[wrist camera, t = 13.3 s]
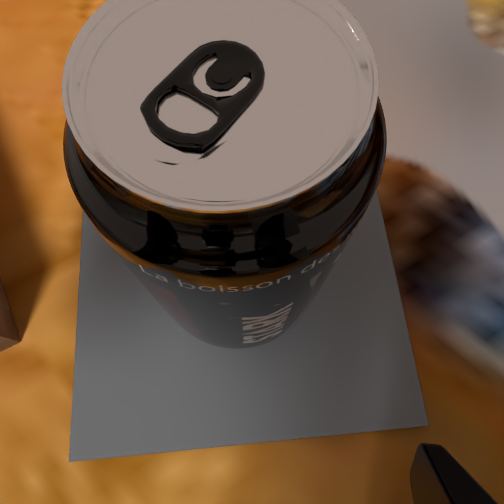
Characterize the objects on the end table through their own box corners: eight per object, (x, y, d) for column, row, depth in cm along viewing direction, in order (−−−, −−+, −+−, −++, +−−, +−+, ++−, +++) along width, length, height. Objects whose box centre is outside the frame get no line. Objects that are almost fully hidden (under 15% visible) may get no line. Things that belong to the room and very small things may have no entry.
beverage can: (129, 291, 18) (-62, 104, 7) (223, 180, 20) (191, -103, 9) (255, 387, 17) (268, 343, 6) (344, 258, 19) (482, 38, 8)
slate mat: (425, 425, 17) (429, 425, 16) (73, 460, 16) (68, 461, 16) (361, 134, 22) (363, 130, 21) (89, 155, 21) (86, 150, 21)
